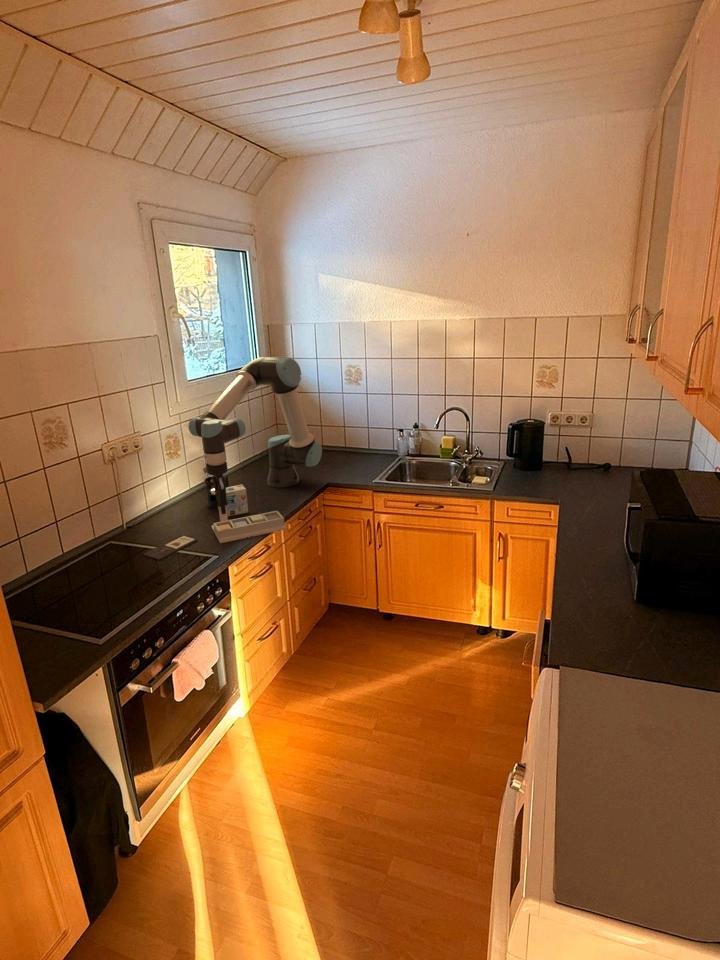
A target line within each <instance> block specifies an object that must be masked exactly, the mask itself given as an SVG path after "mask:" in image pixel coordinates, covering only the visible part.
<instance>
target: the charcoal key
mask: <svg viewBox="0 0 720 960" xmlns="http://www.w3.org/2000/svg"><path fill="white" fill-rule="evenodd" d="M266 518H267V519H268V520H273V519H278V518H279V516H278V515H277V514H276V515H271V516H266Z"/></svg>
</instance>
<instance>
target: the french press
mask: <svg viewBox="0 0 720 960" xmlns="http://www.w3.org/2000/svg"><path fill="white" fill-rule="evenodd" d="M202 471H203V472H204V474H206V473H207V468H206V466H205V467H204V468H202ZM212 476H213V475H210V476H208V477H206V478H204V484H205V487H206V495H207V498H206V501H207V502H206V503H207V504H206V506H207V508H209V509H219V508H218V507H217V505H219V504H218V503H217V500H216V494H215V489H214V487H213V488H212V486H214V483H213V481H211V480H212ZM223 477H224V478H225V484H226V487H230V486H229V477H228V475H226V474H225V475H223Z"/></svg>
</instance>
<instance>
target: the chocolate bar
mask: <svg viewBox="0 0 720 960" xmlns="http://www.w3.org/2000/svg"><path fill="white" fill-rule="evenodd" d="M197 542H198V539H195V538H191V537H188V536H185V535H181V534H180V535H179V536H176V537H174V538H172V539H171V540H168V541H166V542H164V543H162V544H160V545H158V546H156V547H154V548H152V549H150V550H148V551H146V552H144V553H142V556H144V557H146V558H149V559H153V560H155V561H162V560H164V559H165V558H168V557H170V556H172V555H173V554H176V553H177V552H179V551H181V550H183V549H185V548H187V547H190V546H191V545H193V544H195V543H197Z"/></svg>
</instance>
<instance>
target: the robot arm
mask: <svg viewBox="0 0 720 960" xmlns="http://www.w3.org/2000/svg"><path fill="white" fill-rule="evenodd" d="M235 376H236V377H235V379H234V380H233V381H232V382H231V383H230V384H229V385H228V387H227V388H226V389H224V390H223V392H222V393H221V394H220V395H219V396H218V397H217V398H216V400H215V401H213V403H212V404H211V405H210V406H209V408H208V409H207V410H206V411H204V413H203V414H202V415H201V416H194V417H192V418H191V419H190V420H189V422H188V431H189V433H190V434H191V435H192V436H195V437H199V438H201V439H202V445H203V452H204V455H203V456H202V457H203V459H205V463H206V464H205V467H206V468H207V472H206V473H207V474H208V475H209V476H212V479H211V480H212V482H213V483H214V485H213V488H214V489H215V494H216V500H217V503H218V504H219V505H217V507H218V508H217V509H218V514H219V522H223V521H228V520H229V516H227V509H226V505H227V499H226V484H225V478H224V477H223V476H224V475H223V474H225V473H227V472H228V470H229V469H228V468H229V467H228V462H227V452H226V446H225V444H227V443H230V442H231V441H234V440H237V439H239V438H241V437H243V436H244V435H245V433H246V430H247V429H246V424H245V423H244V421H243V420H242V418H238V417H234V418H233V417H232V418H230V419H227V418H228V417H229V415H230V414H231V413H232V412H233V411H234V410H235V408H236V407H237V406H238V405H239V404H240V403H241V402H242V400H243V399H244V398H245V397H246V396H247V395H248V393H250V391H254V390H255V389H256V388H257V387H259V386H263V385H264V386H266V385H267V386H270V388H271V391H272V393H273V394H275V395H277V398H278V401H279V404H280V407H281V410H282V414H283V418H284V420H285V423H286V427H287V431H288V434H281V435H276V436H272V437H270V438H269V439H268V441H267V450H268V460H269V471H268V475H267V485H268V486H269V487H272V488H282V489H283V488H290V487H293V486H296V485H298V484H299V482H300V479H299V474H298V472H297V470H296V467H295V465H297V466H303V467H304V466H305V467H315V466H317V465H318V464H319V462H320V461H321V459H322V453H323V446H322V444H321V442H319V441H315V437H314V434H312V433H310V430H309V429H308V425H307V421H306V418H305V414H304V411H303V408H302V404H301V400H300V397H299V393H298V390H297V389H298V387H300V386H299V385H300V383H301V380H302V377H301V376H302V371H301V366H300V365H299V363H298V362H297V361H296V360H295V359H293V358H292V357H291V358H290V357H284V356H283V357H282V356H281V357H272V356H271V357H269V356H262V357H261V356H260V357H258V358H255V359H253V360H251V361H249V362H248V363H247V364H246V365H244V366H243V367H242V368H241V369H240V370H239V371H238V372H237V373H236V375H235Z"/></svg>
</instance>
